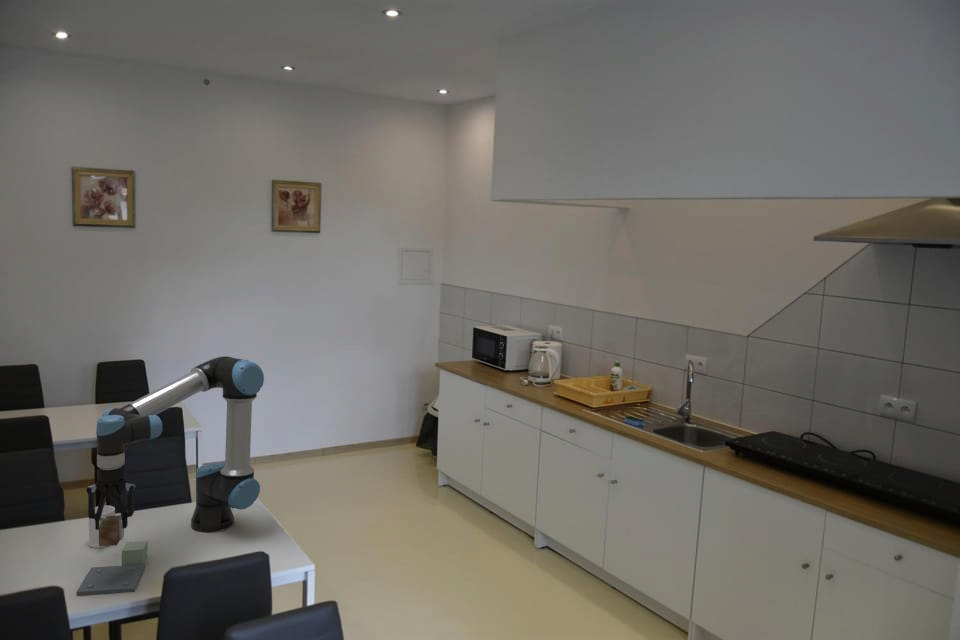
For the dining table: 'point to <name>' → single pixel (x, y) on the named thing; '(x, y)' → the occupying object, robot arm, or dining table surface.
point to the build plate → (111, 579)
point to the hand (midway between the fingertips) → (111, 538)
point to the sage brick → (135, 553)
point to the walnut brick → (109, 531)
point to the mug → (95, 533)
